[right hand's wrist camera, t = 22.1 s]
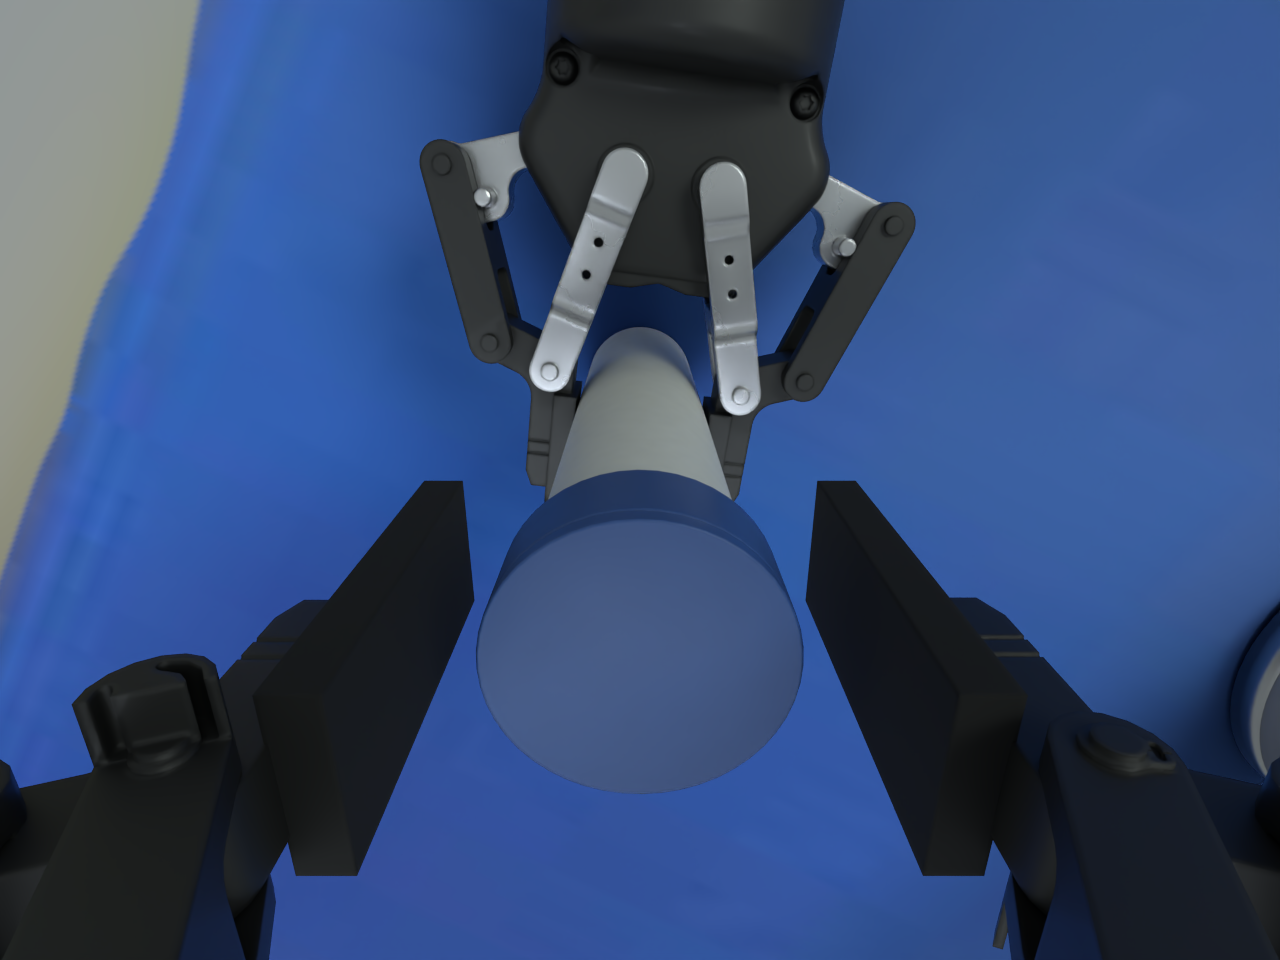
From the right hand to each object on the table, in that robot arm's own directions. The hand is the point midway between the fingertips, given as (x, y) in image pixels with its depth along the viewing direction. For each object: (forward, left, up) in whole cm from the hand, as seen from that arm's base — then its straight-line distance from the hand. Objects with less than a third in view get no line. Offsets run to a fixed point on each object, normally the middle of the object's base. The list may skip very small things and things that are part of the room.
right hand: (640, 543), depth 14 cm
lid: (0, 0, +4) cm, 4 cm away
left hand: (+1, +3, -9) cm, 9 cm away
